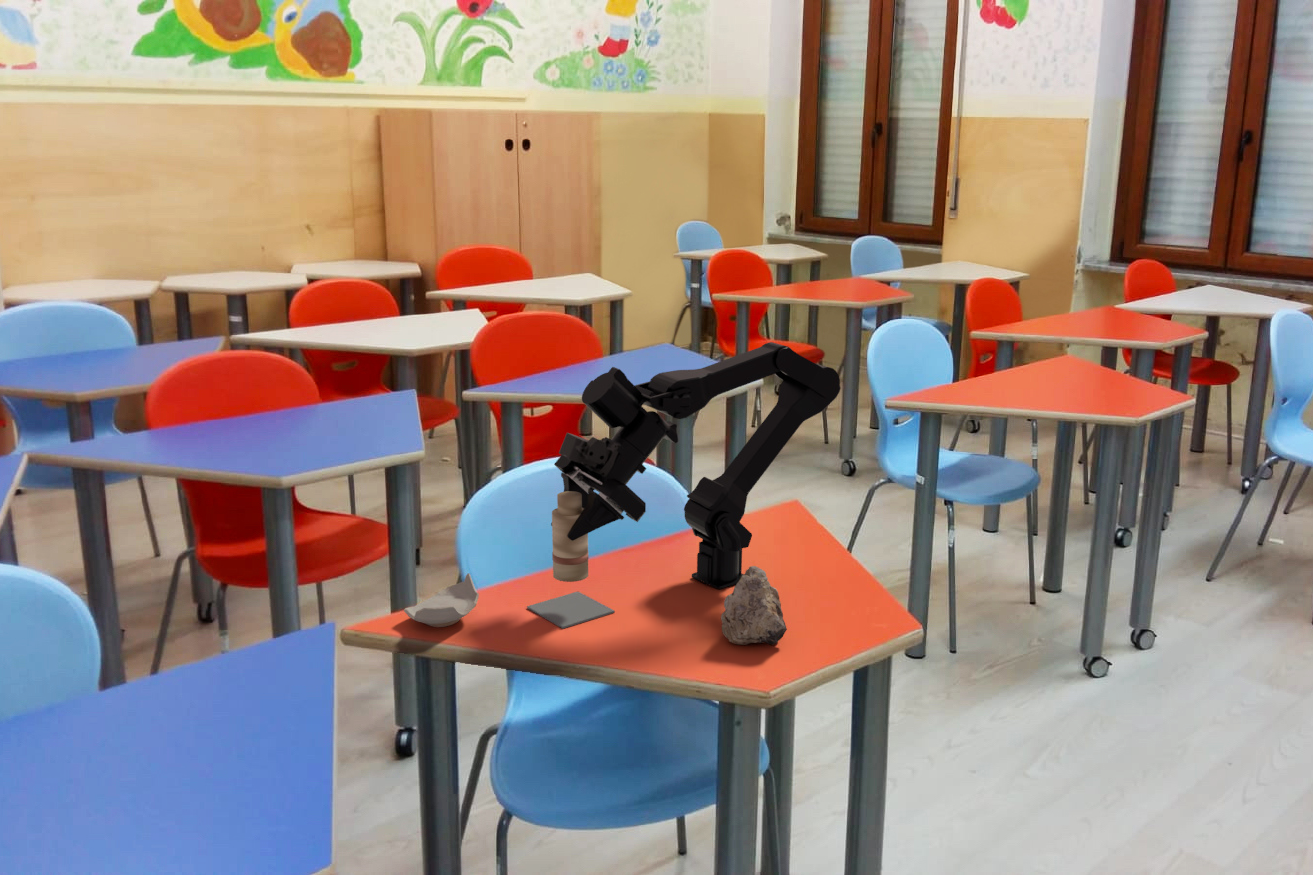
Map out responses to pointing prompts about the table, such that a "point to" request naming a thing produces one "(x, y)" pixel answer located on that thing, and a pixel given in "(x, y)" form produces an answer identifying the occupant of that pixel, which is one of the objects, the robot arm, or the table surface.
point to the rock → (753, 611)
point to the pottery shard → (446, 605)
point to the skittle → (568, 540)
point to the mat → (570, 609)
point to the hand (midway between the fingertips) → (561, 532)
